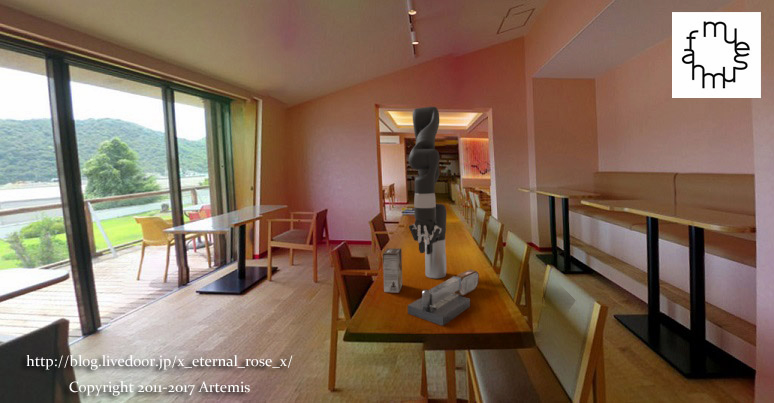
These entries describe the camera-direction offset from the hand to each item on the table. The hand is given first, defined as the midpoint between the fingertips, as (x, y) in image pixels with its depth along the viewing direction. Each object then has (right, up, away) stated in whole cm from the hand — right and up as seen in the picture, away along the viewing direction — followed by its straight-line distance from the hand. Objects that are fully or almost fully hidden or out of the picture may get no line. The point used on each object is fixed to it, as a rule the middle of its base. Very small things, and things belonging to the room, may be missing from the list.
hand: (425, 253), depth 116 cm
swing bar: (+6, -15, -1) cm, 16 cm away
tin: (+18, -18, +12) cm, 28 cm away
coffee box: (-11, -18, +18) cm, 28 cm away
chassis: (+4, -19, -3) cm, 20 cm away
